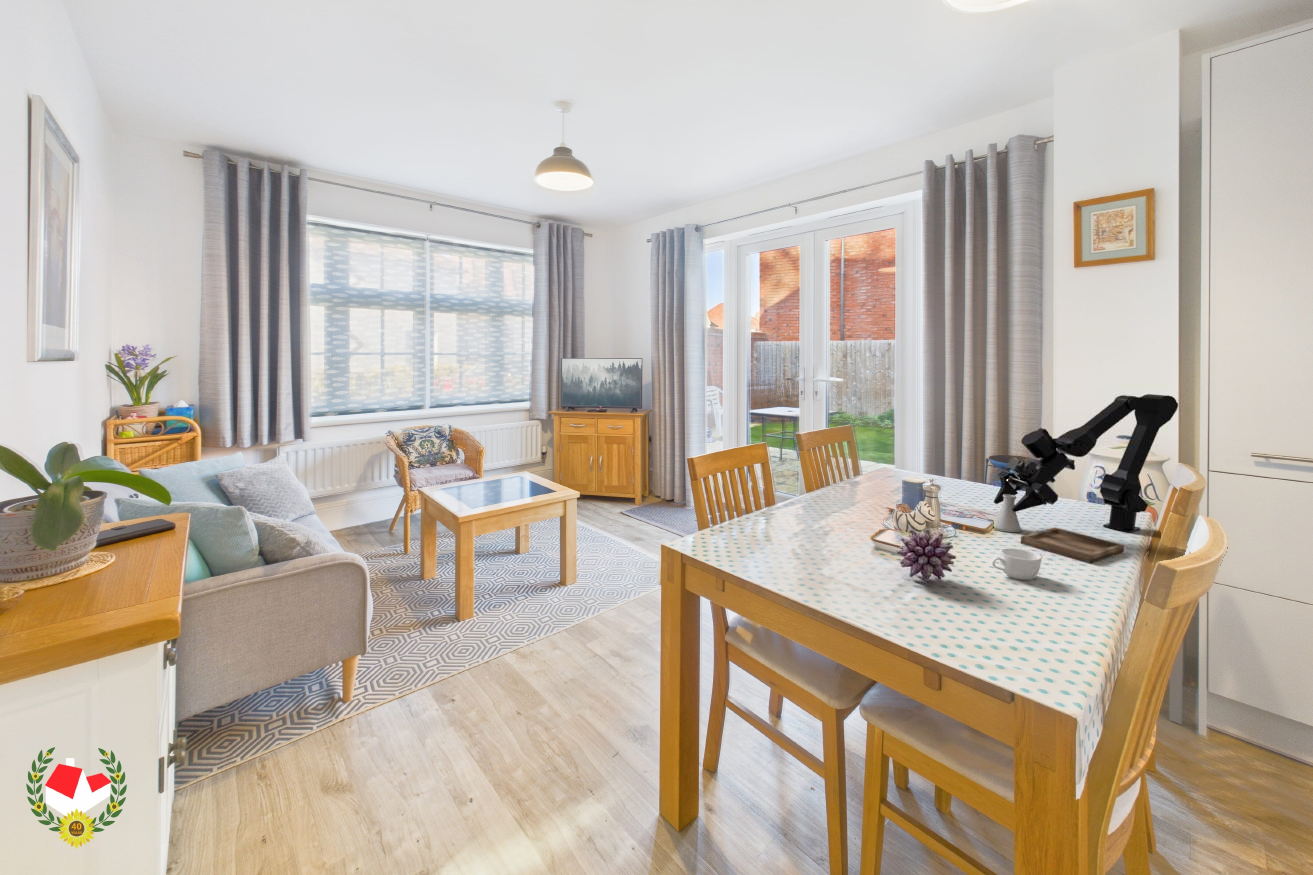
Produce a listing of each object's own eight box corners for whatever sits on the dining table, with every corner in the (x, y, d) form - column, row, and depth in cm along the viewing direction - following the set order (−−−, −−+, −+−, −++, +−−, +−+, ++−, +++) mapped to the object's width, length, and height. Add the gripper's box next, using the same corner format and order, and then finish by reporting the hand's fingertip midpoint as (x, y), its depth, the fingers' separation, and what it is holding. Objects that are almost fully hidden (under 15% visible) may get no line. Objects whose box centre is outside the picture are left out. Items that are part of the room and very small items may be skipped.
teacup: (1024, 569, 127) (1027, 547, 126) (1047, 583, 119) (1050, 560, 119) (981, 569, 127) (983, 547, 126) (1001, 583, 120) (1003, 559, 119)
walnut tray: (1054, 534, 152) (1054, 527, 152) (1123, 552, 138) (1124, 545, 137) (1020, 543, 145) (1021, 536, 144) (1089, 563, 131) (1090, 555, 130)
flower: (891, 567, 129) (894, 519, 127) (947, 573, 125) (951, 523, 123) (898, 587, 118) (901, 534, 116) (959, 593, 114) (964, 539, 112)
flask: (1012, 525, 160) (1015, 492, 158) (1026, 533, 153) (1030, 499, 151) (986, 524, 161) (989, 492, 159) (999, 532, 153) (1002, 498, 152)
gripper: (1007, 444, 162) (967, 480, 164) (1051, 455, 144) (1006, 495, 146) (1030, 469, 164) (990, 505, 165) (1078, 484, 145) (1032, 524, 147)
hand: (1003, 506), depth 156 cm, fingers open, 8 cm apart
